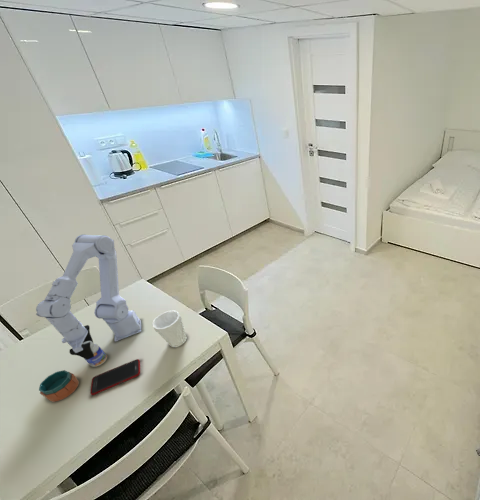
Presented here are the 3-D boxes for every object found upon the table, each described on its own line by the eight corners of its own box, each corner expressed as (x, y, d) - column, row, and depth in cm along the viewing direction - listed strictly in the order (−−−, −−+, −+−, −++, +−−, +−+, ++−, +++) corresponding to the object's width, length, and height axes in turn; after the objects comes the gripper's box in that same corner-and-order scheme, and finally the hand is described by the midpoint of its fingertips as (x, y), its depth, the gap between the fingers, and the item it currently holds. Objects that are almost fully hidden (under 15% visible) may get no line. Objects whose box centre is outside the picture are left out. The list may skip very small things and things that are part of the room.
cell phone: (93, 378, 104) (92, 377, 104) (140, 359, 110) (139, 358, 110) (91, 396, 99) (89, 395, 98) (140, 375, 105) (139, 373, 104)
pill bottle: (98, 368, 108) (84, 352, 102) (87, 365, 109) (72, 350, 103) (111, 355, 112) (98, 340, 107) (99, 353, 113) (86, 338, 108)
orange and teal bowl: (80, 373, 106) (71, 364, 103) (77, 393, 100) (68, 384, 97) (50, 385, 102) (40, 377, 99) (45, 407, 96) (34, 398, 93)
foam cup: (160, 346, 116) (146, 324, 108) (179, 329, 123) (167, 307, 115) (177, 353, 113) (164, 331, 105) (195, 335, 120) (184, 314, 112)
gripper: (55, 319, 102) (76, 343, 109) (52, 346, 92) (76, 370, 100) (80, 310, 105) (99, 334, 113) (80, 335, 96) (101, 359, 104)
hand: (90, 350), depth 107 cm, fingers open, 7 cm apart
